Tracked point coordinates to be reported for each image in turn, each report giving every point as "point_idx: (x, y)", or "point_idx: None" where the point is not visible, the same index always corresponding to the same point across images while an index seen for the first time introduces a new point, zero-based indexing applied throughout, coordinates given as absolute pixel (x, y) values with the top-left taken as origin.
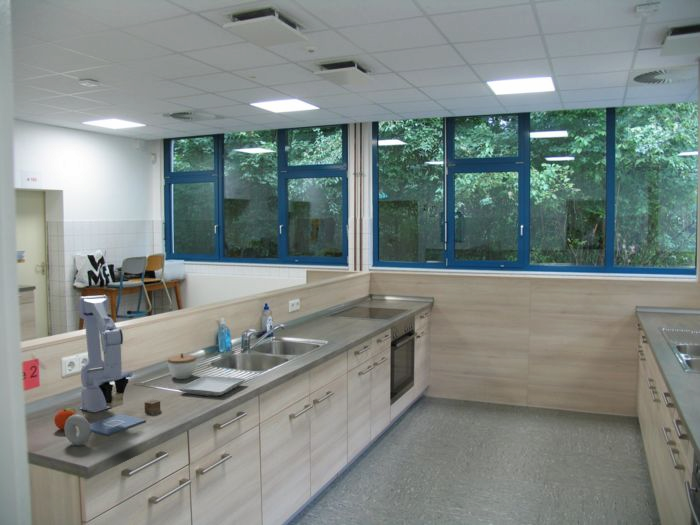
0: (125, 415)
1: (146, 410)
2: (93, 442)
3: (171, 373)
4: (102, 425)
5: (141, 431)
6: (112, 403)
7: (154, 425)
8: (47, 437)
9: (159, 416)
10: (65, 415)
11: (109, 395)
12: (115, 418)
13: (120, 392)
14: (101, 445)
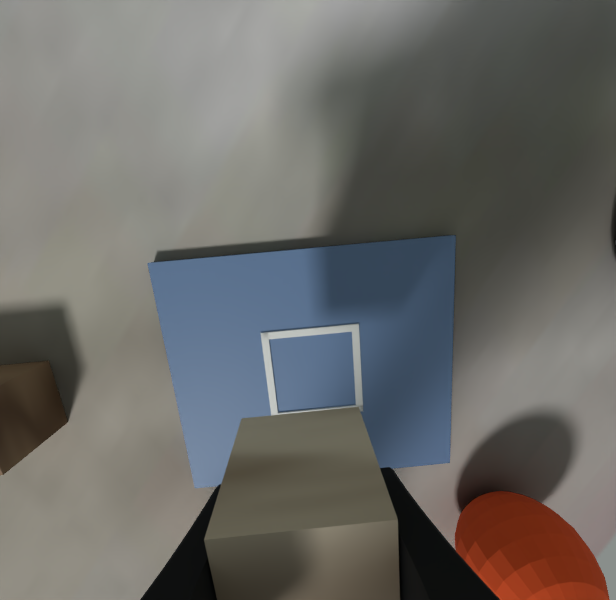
0: (190, 442)
1: (50, 417)
2: (563, 198)
3: None
4: (373, 394)
5: (280, 106)
6: (369, 446)
7: (153, 137)
8: (604, 469)
9: (34, 277)
10: (588, 573)
11: (460, 561)
12: None
13: (208, 596)
14: (581, 99)
